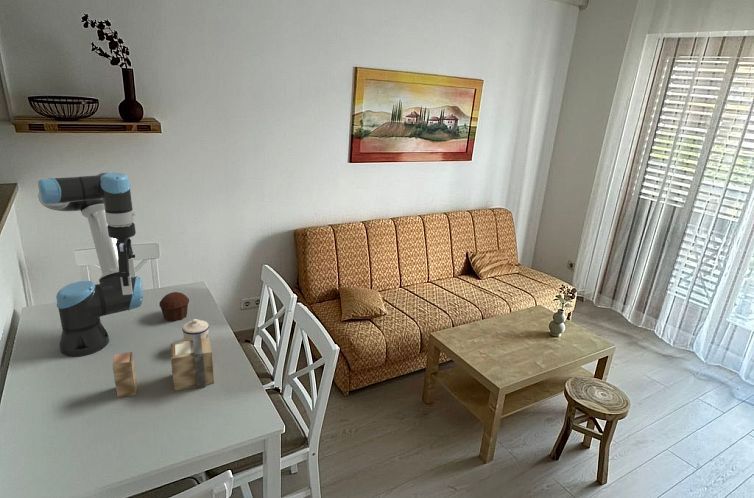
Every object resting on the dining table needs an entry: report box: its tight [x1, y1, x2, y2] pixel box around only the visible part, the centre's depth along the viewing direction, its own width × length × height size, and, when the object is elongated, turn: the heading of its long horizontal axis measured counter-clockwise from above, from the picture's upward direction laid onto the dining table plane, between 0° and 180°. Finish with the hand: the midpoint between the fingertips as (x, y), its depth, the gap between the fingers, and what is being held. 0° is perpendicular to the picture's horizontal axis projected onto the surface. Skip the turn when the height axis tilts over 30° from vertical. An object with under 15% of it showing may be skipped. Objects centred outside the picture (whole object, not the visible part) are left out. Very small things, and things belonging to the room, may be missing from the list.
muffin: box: [159, 291, 190, 322], centre depth 187 cm, size 12×11×10 cm
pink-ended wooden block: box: [112, 351, 138, 399], centre depth 141 cm, size 5×6×12 cm
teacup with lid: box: [181, 318, 210, 342], centre depth 167 cm, size 12×9×12 cm
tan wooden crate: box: [170, 334, 215, 391], centre depth 149 cm, size 12×12×13 cm
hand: (129, 285), depth 149 cm, fingers open, 13 cm apart
